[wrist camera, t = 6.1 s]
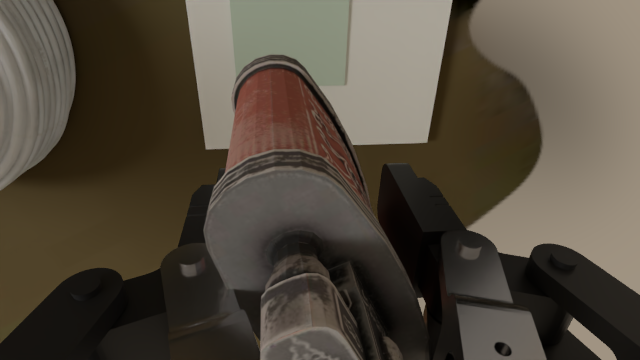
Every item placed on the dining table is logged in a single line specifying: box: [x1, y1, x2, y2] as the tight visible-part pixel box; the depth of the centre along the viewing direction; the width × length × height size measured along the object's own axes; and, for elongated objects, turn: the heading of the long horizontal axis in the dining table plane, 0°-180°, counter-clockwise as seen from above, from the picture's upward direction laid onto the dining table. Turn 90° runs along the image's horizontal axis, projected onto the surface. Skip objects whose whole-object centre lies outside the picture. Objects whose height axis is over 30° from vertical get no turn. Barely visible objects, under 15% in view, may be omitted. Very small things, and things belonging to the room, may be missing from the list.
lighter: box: [203, 54, 430, 360], centre depth 10 cm, size 8×3×10 cm, turn 23°
